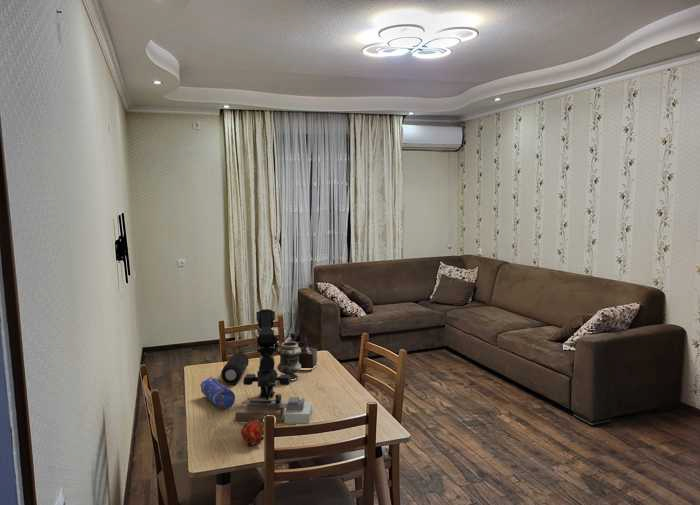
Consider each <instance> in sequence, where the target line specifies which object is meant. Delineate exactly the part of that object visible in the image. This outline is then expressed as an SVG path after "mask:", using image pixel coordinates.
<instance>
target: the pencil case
mask: <svg viewBox="0 0 700 505" xmlns="http://www.w3.org/2000/svg"><path fill="white" fill-rule="evenodd" d="M200 391H201V393H202V394H203V395H204V396H205V397H206V398H207V399H208V400H209V401H210V402H211V403H212V404H213V405H215V406H217V408H218V409H219V410H221V411H222V410H223V411H225V410H229V409H230V408H231V407H233V405H235V404H234V403H235V400H236V395H235V393H234V392H233V390H231V389H230V388H228V387H226V386H224V385H223V384H222V383H219V380H218V379H216V378H214V377H212V376H211V377H209V378H206V379H205V380H203V381H201V383H200Z"/></svg>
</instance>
